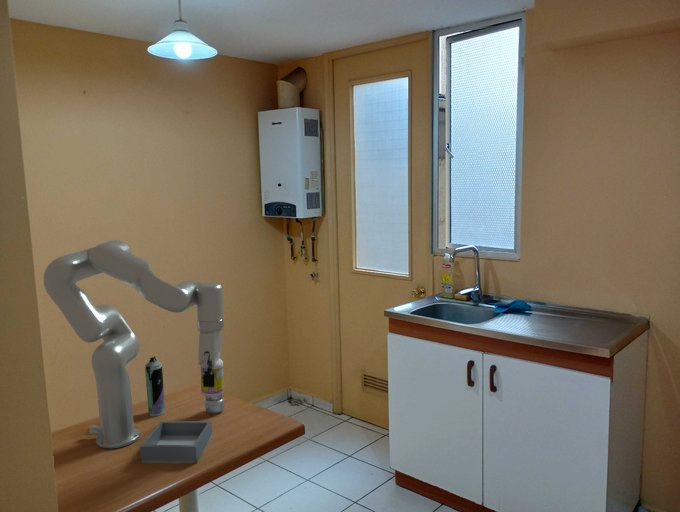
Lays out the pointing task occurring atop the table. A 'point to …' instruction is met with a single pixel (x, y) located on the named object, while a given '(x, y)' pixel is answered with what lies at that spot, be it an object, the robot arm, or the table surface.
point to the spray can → (155, 387)
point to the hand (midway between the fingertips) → (212, 381)
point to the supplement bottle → (218, 380)
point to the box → (176, 442)
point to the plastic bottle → (214, 404)
